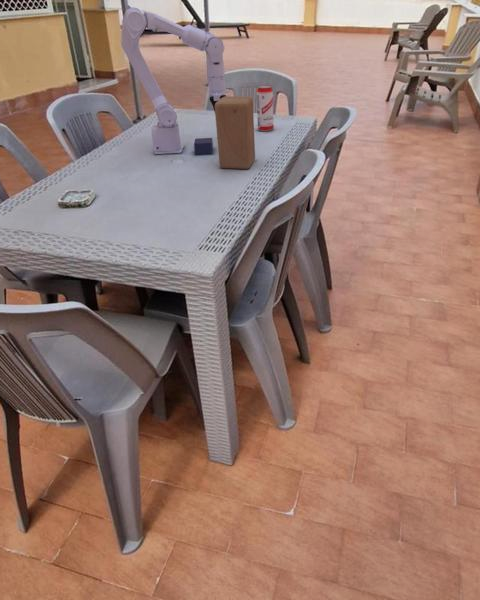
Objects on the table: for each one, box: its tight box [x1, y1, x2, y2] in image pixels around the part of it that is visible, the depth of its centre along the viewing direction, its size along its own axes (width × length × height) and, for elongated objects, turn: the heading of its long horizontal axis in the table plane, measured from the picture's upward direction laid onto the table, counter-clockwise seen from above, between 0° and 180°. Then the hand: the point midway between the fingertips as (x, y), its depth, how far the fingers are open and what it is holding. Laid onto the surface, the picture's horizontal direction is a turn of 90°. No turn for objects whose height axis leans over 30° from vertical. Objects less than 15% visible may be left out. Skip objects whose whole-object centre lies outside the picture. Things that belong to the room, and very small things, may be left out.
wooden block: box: [214, 95, 256, 170], centre depth 146 cm, size 10×10×20 cm
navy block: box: [193, 137, 214, 156], centre depth 162 cm, size 6×6×4 cm
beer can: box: [256, 84, 275, 133], centre depth 179 cm, size 6×6×16 cm
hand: (219, 118), depth 164 cm, fingers closed
